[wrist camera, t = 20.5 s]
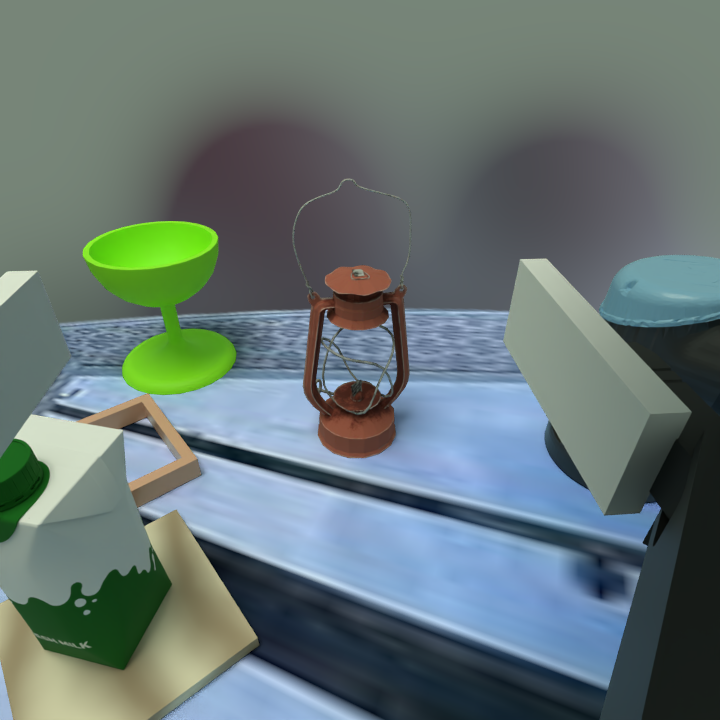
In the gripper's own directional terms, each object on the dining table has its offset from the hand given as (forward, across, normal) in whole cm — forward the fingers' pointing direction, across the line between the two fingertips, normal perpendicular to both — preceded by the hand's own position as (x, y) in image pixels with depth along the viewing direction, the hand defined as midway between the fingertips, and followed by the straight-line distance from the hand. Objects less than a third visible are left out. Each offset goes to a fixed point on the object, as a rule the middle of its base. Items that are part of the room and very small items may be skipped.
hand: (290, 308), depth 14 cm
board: (+10, -16, -35) cm, 40 cm away
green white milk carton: (+10, -17, -34) cm, 40 cm away
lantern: (+33, +4, -35) cm, 48 cm away
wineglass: (+49, -20, -35) cm, 63 cm away
